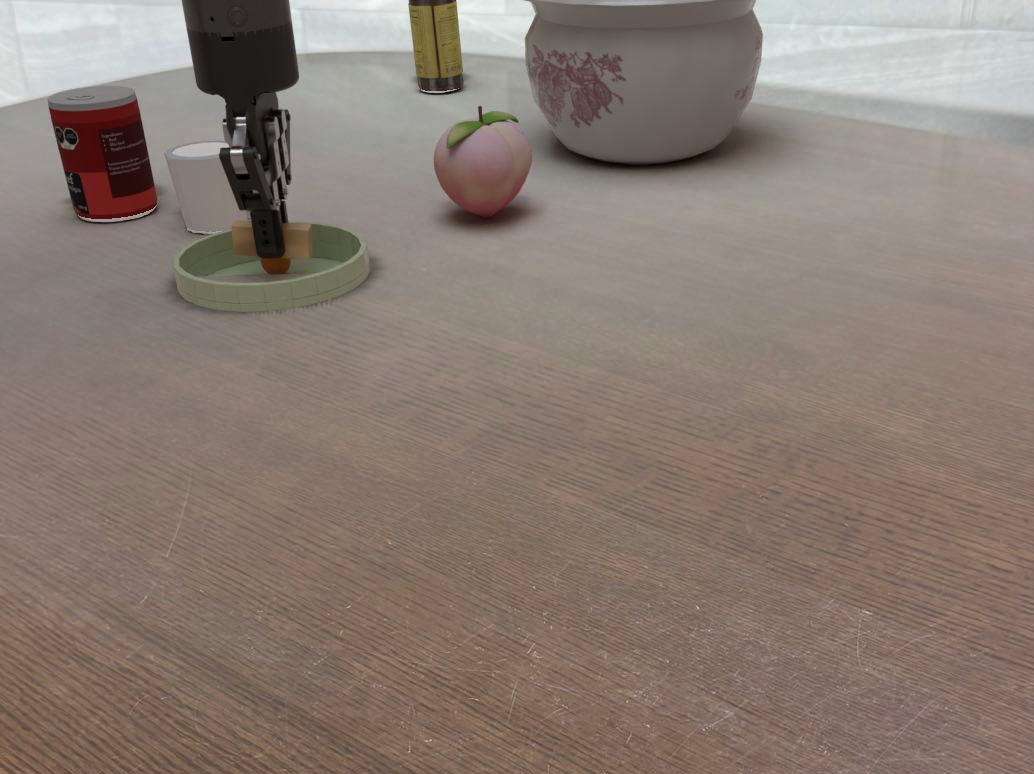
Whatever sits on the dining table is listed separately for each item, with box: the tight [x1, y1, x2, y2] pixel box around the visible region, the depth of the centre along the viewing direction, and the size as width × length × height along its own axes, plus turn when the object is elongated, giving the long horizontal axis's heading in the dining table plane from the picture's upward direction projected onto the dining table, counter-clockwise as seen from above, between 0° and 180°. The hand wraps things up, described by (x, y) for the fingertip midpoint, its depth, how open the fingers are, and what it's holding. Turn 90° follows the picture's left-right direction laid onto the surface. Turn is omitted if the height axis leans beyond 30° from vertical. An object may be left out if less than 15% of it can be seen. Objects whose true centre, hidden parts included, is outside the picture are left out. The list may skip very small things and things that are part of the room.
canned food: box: [47, 85, 158, 219], centre depth 114 cm, size 8×8×11 cm
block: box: [231, 220, 313, 259], centre depth 95 cm, size 6×2×2 cm, turn 88°
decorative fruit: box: [433, 105, 533, 219], centre depth 109 cm, size 9×8×10 cm
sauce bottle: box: [407, 0, 464, 91], centre depth 154 cm, size 6×6×20 cm
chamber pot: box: [524, 0, 764, 166], centre depth 125 cm, size 28×28×21 cm
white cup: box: [164, 140, 248, 232], centre depth 111 cm, size 7×7×7 cm
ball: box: [261, 258, 291, 275], centre depth 98 cm, size 2×2×2 cm
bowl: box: [172, 221, 371, 313], centre depth 96 cm, size 15×15×4 cm
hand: (274, 251), depth 96 cm, fingers closed on block
